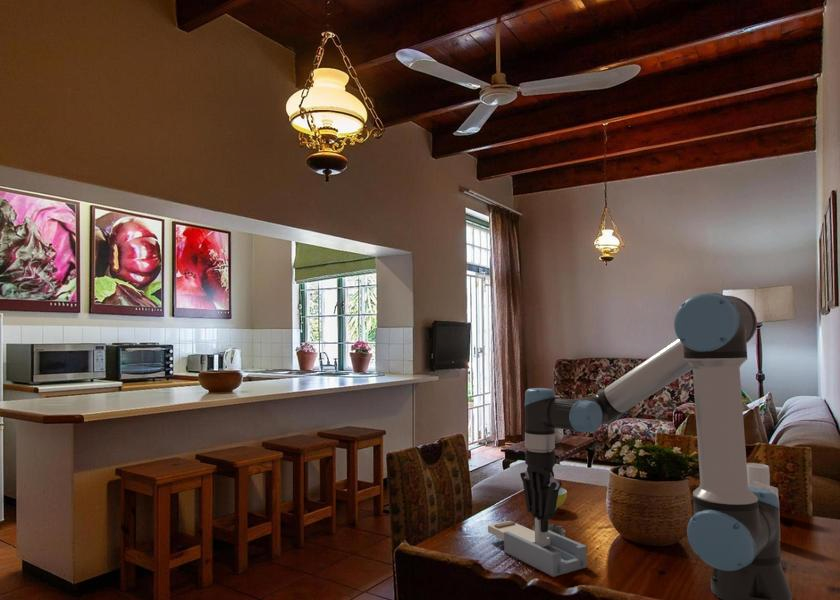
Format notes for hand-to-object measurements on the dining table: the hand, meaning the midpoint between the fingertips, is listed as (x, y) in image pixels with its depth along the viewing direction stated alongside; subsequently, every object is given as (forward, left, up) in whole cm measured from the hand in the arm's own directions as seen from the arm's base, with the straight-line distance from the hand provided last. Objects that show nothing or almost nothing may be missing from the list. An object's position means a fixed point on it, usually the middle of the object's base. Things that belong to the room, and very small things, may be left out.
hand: (540, 543), depth 145 cm
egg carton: (+8, -11, -4) cm, 14 cm away
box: (-1, 0, -4) cm, 4 cm away
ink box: (-21, -61, -4) cm, 65 cm away
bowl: (+29, -30, -4) cm, 41 cm away
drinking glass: (-8, -84, -4) cm, 84 cm away
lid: (+9, 0, -1) cm, 9 cm away
